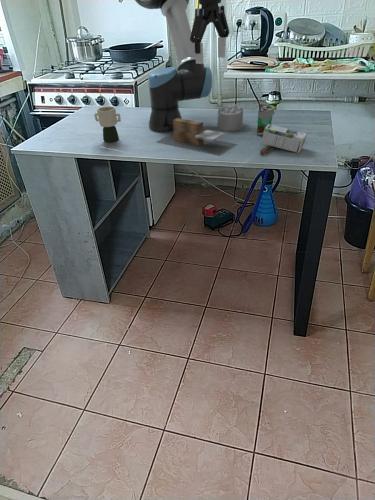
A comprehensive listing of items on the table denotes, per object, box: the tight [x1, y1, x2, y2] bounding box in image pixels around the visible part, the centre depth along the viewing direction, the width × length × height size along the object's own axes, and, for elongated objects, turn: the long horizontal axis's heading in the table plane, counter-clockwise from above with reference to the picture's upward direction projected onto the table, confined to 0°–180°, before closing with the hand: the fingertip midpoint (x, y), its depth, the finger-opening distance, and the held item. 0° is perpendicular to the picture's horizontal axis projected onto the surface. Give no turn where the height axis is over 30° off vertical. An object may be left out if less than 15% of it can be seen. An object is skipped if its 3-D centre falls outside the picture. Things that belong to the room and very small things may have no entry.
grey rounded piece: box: [217, 103, 244, 132], centre depth 162 cm, size 10×13×9 cm
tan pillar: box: [173, 118, 225, 145], centre depth 146 cm, size 20×8×8 cm, turn 55°
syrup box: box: [261, 124, 307, 154], centre depth 139 cm, size 6×6×14 cm
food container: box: [256, 103, 275, 137], centre depth 153 cm, size 12×6×10 cm, turn 168°
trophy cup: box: [93, 105, 122, 143], centre depth 153 cm, size 11×7×13 cm, turn 77°
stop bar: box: [259, 145, 275, 156], centre depth 140 cm, size 1×12×2 cm, turn 144°
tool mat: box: [155, 132, 238, 156], centre depth 149 cm, size 30×13×1 cm, turn 55°
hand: (210, 60), depth 139 cm, fingers open, 13 cm apart
